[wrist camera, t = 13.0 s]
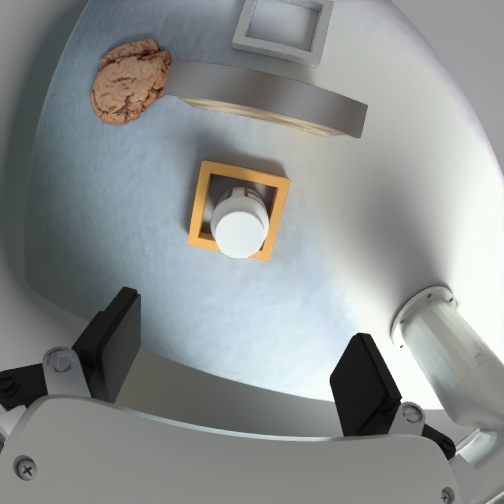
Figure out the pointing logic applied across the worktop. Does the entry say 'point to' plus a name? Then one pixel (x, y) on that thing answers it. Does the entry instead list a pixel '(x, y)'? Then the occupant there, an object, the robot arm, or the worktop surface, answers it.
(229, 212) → the pill bottle
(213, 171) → the collar
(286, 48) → the collar
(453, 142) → the worktop surface
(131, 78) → the cookie
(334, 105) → the beige brown upright block
